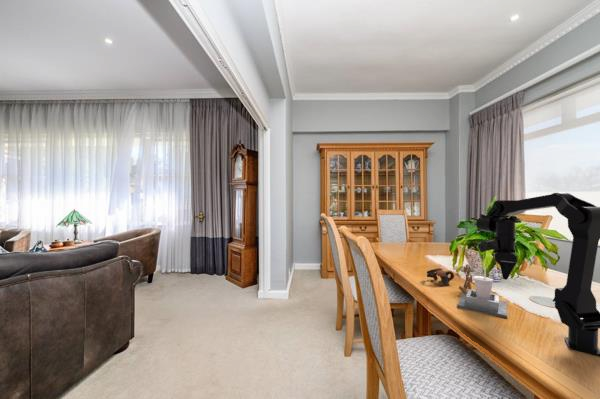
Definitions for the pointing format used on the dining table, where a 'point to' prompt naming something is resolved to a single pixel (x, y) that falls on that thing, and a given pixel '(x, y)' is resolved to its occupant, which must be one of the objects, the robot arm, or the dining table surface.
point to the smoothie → (483, 286)
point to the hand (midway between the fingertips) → (504, 276)
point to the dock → (483, 304)
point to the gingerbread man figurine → (467, 279)
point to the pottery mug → (442, 274)
